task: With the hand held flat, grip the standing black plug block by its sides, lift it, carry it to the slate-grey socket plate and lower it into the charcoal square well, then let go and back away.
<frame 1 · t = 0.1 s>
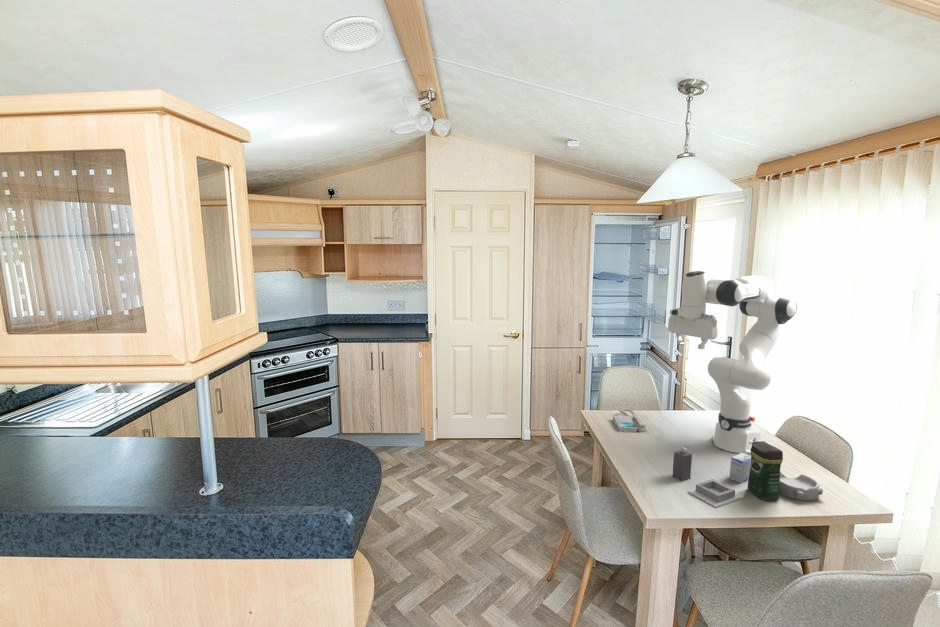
hand: (690, 346, 181), 48 cm above the table, tool pointing down, fingers open, 8 cm apart
intercom: (626, 423, 229), on the table
coffee jar: (762, 494, 161), on the table
socket plate: (714, 495, 161), on the table
medicine box: (740, 478, 173), on the table
dish: (794, 493, 163), on the table
plug: (681, 477, 173), on the table
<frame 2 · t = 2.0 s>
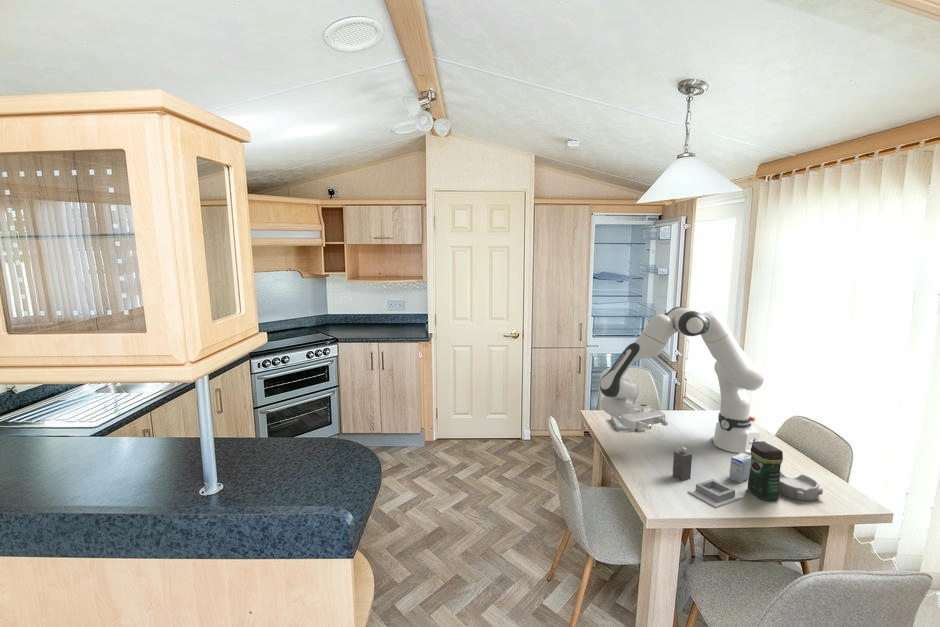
hand: (658, 425, 182), 17 cm above the table, tool horizontal, fingers open, 8 cm apart
nothing on the table moved.
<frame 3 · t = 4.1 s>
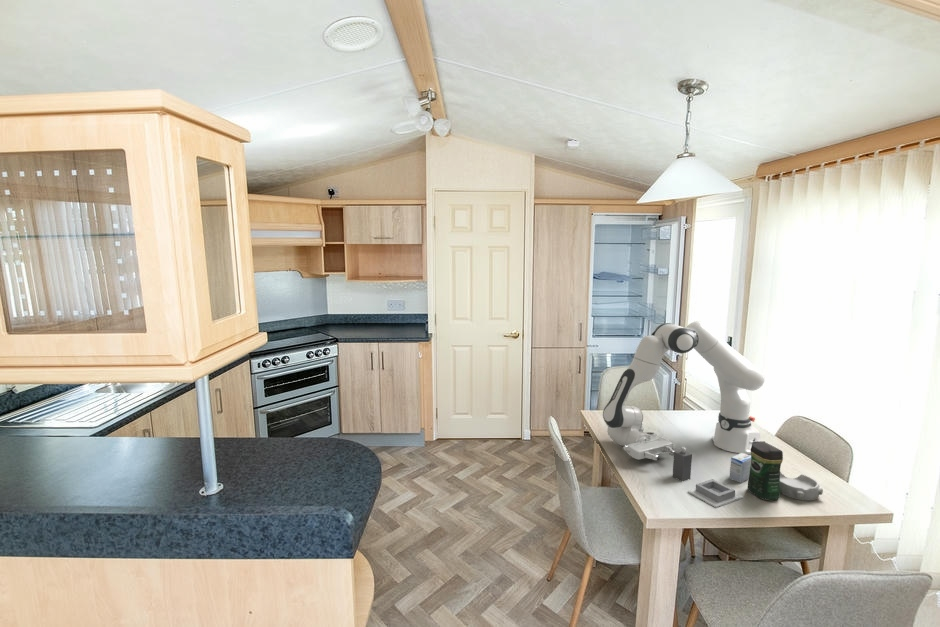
hand: (665, 456, 180), 5 cm above the table, tool horizontal, fingers open, 8 cm apart
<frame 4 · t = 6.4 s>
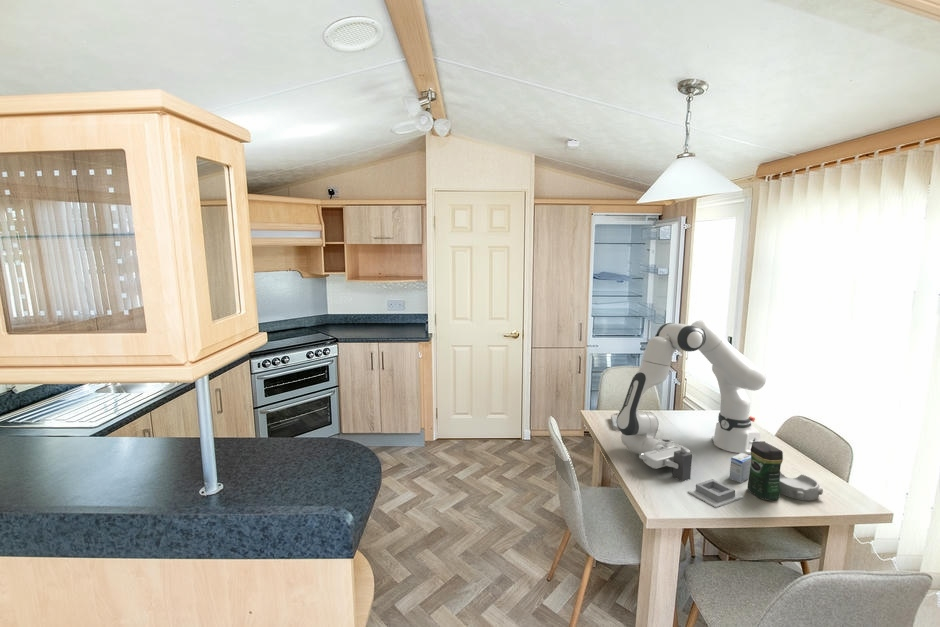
hand: (684, 465, 172), 6 cm above the table, tool horizontal, fingers closed on plug, 4 cm apart
plug: (681, 477, 173), on the table, touching gripper
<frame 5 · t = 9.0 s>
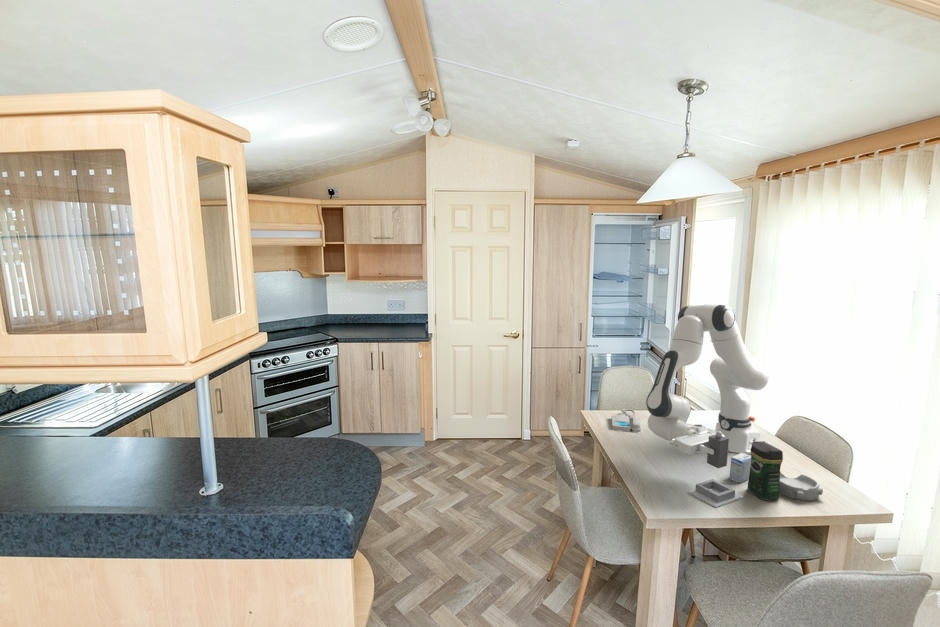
hand: (720, 450, 158), 17 cm above the table, tool horizontal, fingers closed on plug, 4 cm apart
plug: (716, 464, 159), point 11 cm above the table, touching gripper
when the fingers open (7 cm above the table, at t = 11.7 s): plug drops 1 cm, resting on socket plate.
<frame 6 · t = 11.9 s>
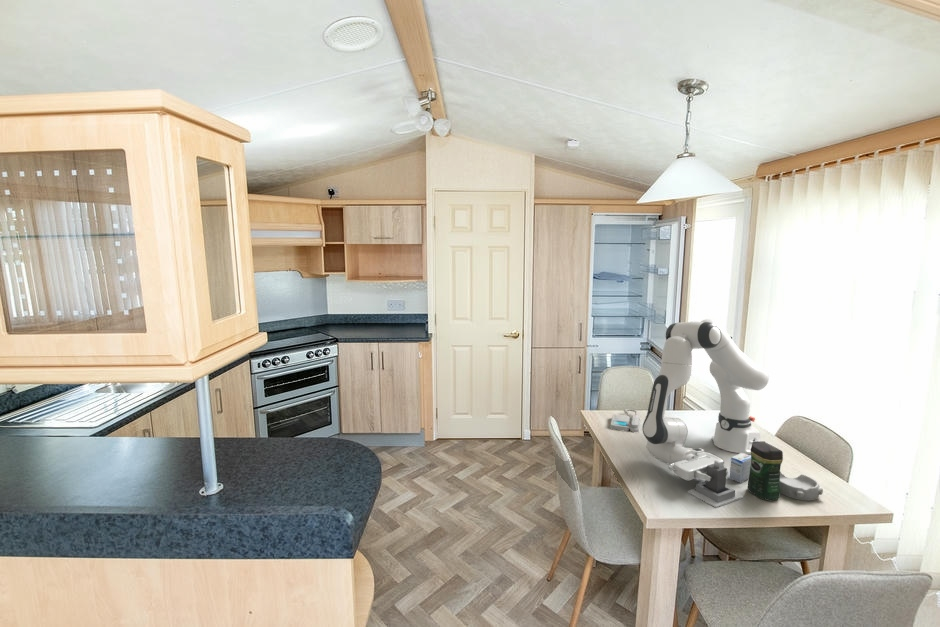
hand: (718, 476, 159), 7 cm above the table, tool horizontal, fingers open, 7 cm apart
plug: (714, 493, 161), point 1 cm above the table, touching socket plate
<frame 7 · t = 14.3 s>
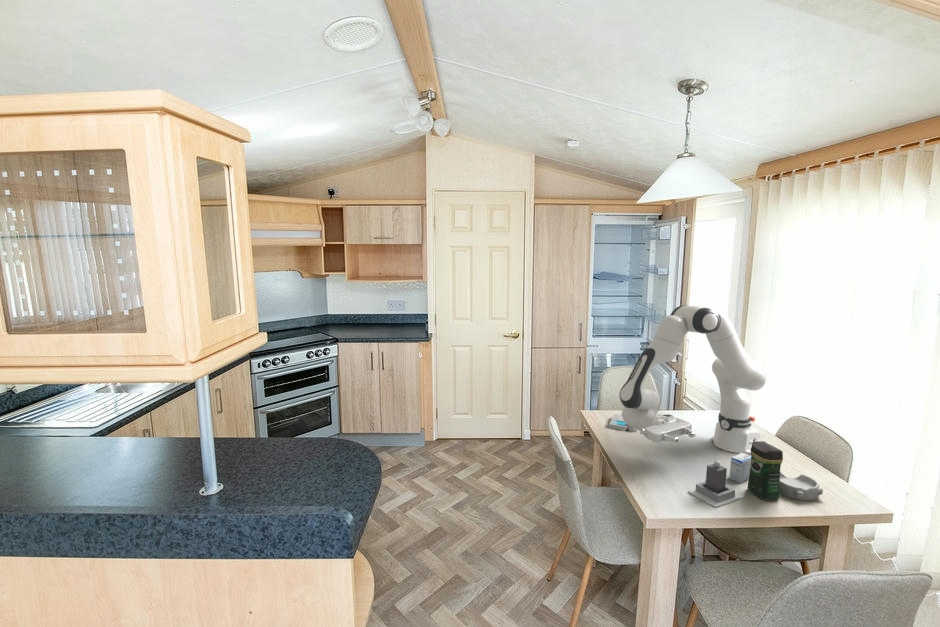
hand: (685, 437, 171), 16 cm above the table, tool horizontal, fingers open, 8 cm apart
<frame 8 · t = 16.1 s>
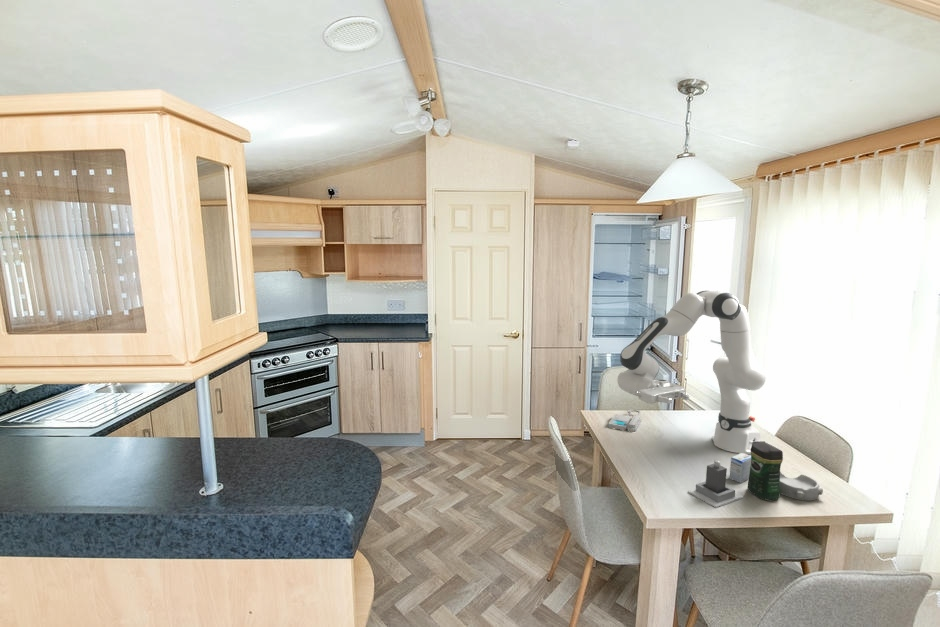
hand: (679, 399, 172), 30 cm above the table, tool horizontal, fingers open, 8 cm apart
at the end: plug 0.0 cm from the target spot, point 0.6 cm above the table; plug tilted 0°; the gripper is holding nothing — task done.
